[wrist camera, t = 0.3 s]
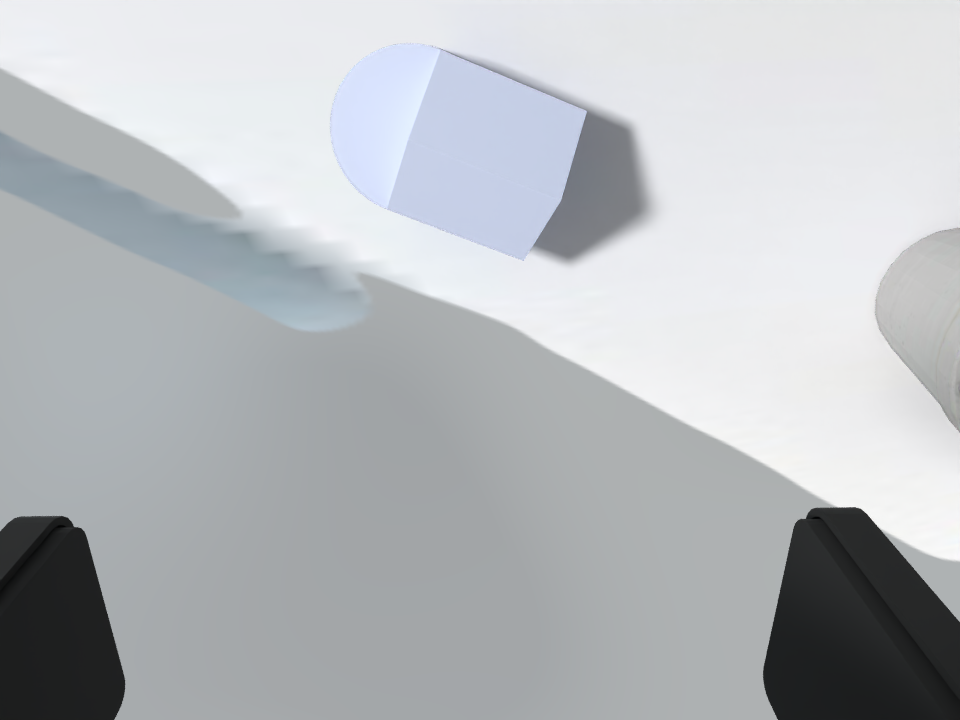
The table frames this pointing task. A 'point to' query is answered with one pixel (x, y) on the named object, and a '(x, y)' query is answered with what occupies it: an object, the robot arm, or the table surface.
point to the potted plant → (926, 315)
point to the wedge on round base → (454, 145)
